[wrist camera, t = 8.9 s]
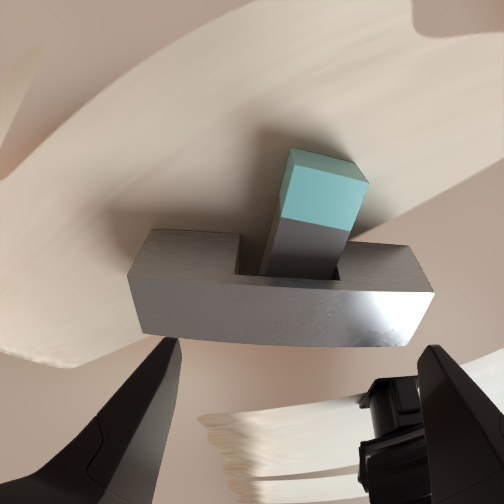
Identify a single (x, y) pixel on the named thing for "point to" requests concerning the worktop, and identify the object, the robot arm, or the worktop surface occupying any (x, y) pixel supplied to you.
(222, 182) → the worktop surface
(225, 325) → the long gray rectangular block
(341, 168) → the bar
